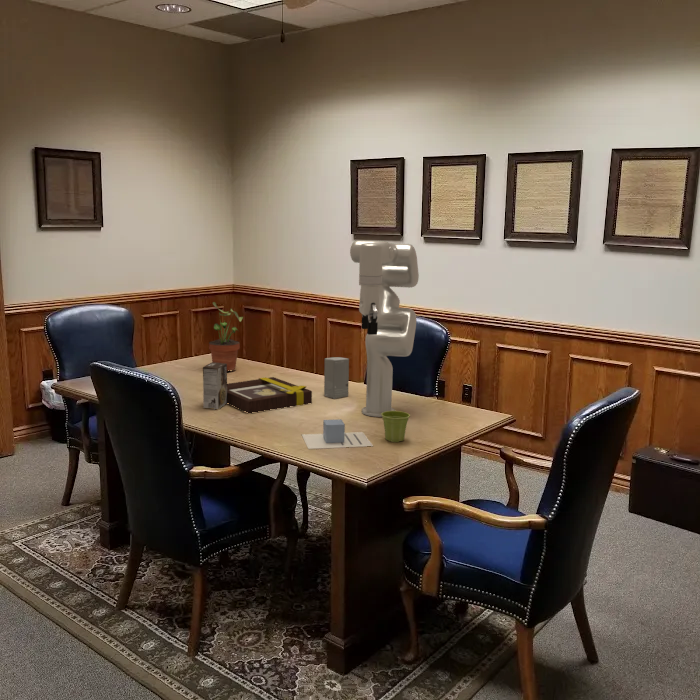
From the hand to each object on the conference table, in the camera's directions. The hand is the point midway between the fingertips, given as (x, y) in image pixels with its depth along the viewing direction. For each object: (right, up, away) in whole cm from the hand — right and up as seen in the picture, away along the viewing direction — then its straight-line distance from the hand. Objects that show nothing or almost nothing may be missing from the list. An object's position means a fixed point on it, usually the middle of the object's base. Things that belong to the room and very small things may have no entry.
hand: (369, 331), depth 241 cm
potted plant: (-64, -16, +94) cm, 115 cm away
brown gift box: (-41, -27, +42) cm, 64 cm away
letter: (-11, -36, -6) cm, 38 cm away
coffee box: (-58, -28, +32) cm, 72 cm away
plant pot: (+8, -36, -3) cm, 37 cm away
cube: (-12, -36, -6) cm, 38 cm away
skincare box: (-12, -25, +52) cm, 59 cm away
